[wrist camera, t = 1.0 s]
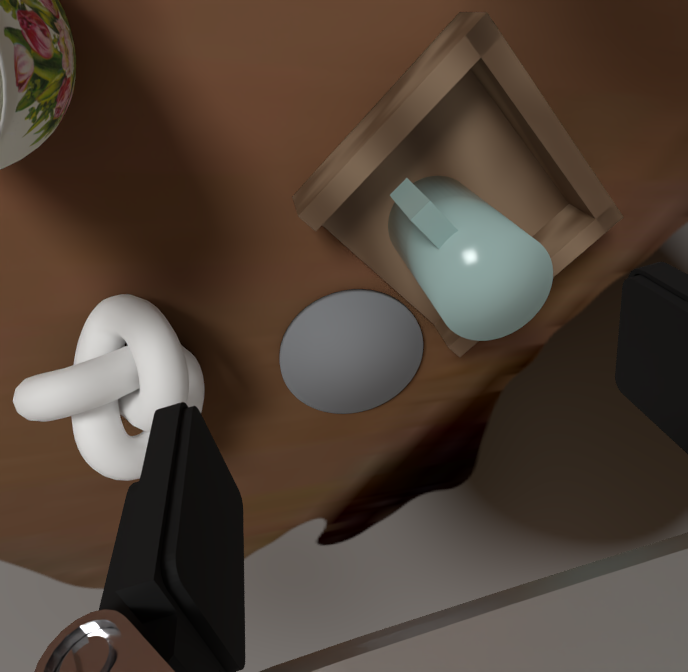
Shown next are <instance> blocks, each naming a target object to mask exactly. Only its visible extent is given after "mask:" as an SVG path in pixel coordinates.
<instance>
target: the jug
mask: <svg viewBox="0 0 688 672" xmlns="http://www.w3.org/2000/svg"><path fill="white" fill-rule="evenodd" d="M390 196H391V198H392V199H393V200H394V201H395V202H394V204H393V206H392V208H391V211H390V214H389V219H388V233H389V237H390V240H391V242H392V245H393V246H394V248H395V249H396V251H397V252H398V254H399V255H400V257H401V258H402V260H403V261H404V263H405V264H406V266H407V267H408V269H409V270H410V272H411V273H412V274H413V276H414V277H415V279H416V280H417V282H418V283H419V285H420V286H421V288H422V289H423V291H424V292H425V294H426V295H427V297H428V298H429V300H430V301H431V303H432V304H433V306H434V307H435V309H436V310H437V312H438V313H439V315H440V316H441V318H442V319H443V321H444V322H445V324H446V325H447V326H448V327H449V328H450V330H452V331H453V332H454V333H455V334H457V335H459V336H461V337H463V338H466V339H470V340H477V341H487V340H493V339H497V338H501V337H504V336H506V335H509V334H511V333H513V332H515V331H516V330H518V329H520V328H521V327H523V326H524V325H525V324H526V323H528V322H529V321H530V320H531V319H532V318H533V317H534V316H535V315H536V314H537V313H538V311H539V310H540V309H541V307H542V306H543V304H544V303H545V301H546V299H547V297H548V295H549V292H550V289H551V286H552V281H553V266H552V261H551V258H550V256H549V254H548V252H547V251H546V249H545V248H544V247H543V246H542V245H541V243H539V242H538V241H537V240H535V239H534V238H533V237H531V236H530V235H529V234H528V233H526V232H525V231H524V230H522V229H521V228H520V227H518V226H517V225H516V224H514V223H513V222H512V221H510V220H509V219H508V218H506V217H505V216H504V215H502V214H501V213H500V212H499V211H497V210H496V209H495V208H493V207H492V206H491V205H489V204H488V203H487V202H485V201H484V200H483V199H481V198H480V197H479V196H477V195H476V194H475V193H473V192H472V191H471V190H470V189H468V188H467V187H466V186H464V185H463V184H462V183H460V182H459V181H457V180H455V179H453V178H450V177H447V176H429V177H425V178H422V179H420V180H418V181H416V182H414V183H412V182H411V181H410V180H409V179H408V178H406V179H405V180H404V181H403V182H402V183H401V184H400V185H399V186H398V187H397V188H396V189H395V190H394V191H393V192H392V193H391V194H390Z"/></svg>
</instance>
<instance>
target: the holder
mask: <svg viewBox="0 0 688 672" xmlns="http://www.w3.org/2000/svg"><path fill="white" fill-rule="evenodd" d="M429 176H447V177H450V178H453V179H455V180H457V181H459V182H460V183H462V184H463V185H464V186H466V187H467V188H468V189H470V190H471V191H472V192H473V193H475V194H476V195H477V196H479V197H480V198H481V199H483V200H484V201H485V202H487V203H488V204H489V205H491V206H492V207H493V208H495V209H496V210H497V211H499V212H500V213H501V214H502V215H504V216H505V217H506V218H508V219H509V220H510V221H512V222H513V223H514V224H516V225H517V226H518V227H520V228H521V229H522V230H524V231H525V232H526V233H528V234H529V235H530V236H531V237H533V238H534V239H535V240H537V241H538V242H539V243H541V245H542V246H543V247H544V248H545V249H546V251H547V252H548V254H549V256H550V258H551V261H552V266H553V277H554V276H556V275H557V274H558V273H559V272H560V271H561V270H563V269H564V268H565V267H566V266H567V265H568V264H570V263H571V262H572V261H573V260H574V259H575V258H577V257H578V256H579V255H580V254H581V253H582V252H584V251H585V250H586V249H587V248H588V247H589V246H591V245H592V244H593V243H594V242H595V241H596V240H598V239H599V238H600V237H601V236H602V235H603V234H605V233H606V232H607V231H608V230H609V229H610V228H612V227H613V226H614V225H615V224H616V223H617V222H619V221H620V220H621V219H622V218H623V216H622V214H621V213H620V211H619V210H618V208H617V207H616V205H615V204H614V202H613V201H612V199H611V198H610V196H609V195H608V193H607V192H606V190H605V189H604V187H603V186H602V184H601V183H600V181H599V180H598V178H597V177H596V175H595V174H594V172H593V171H592V169H591V168H590V166H589V165H588V163H587V162H586V160H585V159H584V157H583V156H582V154H581V153H580V151H579V150H578V148H577V147H576V145H575V144H574V142H573V141H572V139H571V138H570V136H569V135H568V133H567V132H566V130H565V129H564V127H563V126H562V124H561V123H560V121H559V120H558V118H557V117H556V115H555V114H554V112H553V111H552V109H551V108H550V106H549V105H548V103H547V102H546V100H545V99H544V97H543V96H542V94H541V93H540V91H539V90H538V88H537V87H536V85H535V84H534V82H533V81H532V79H531V78H530V76H529V75H528V73H527V72H526V70H525V69H524V67H523V66H522V64H521V63H520V61H519V60H518V58H517V57H516V55H515V54H514V52H513V51H512V49H511V48H510V46H509V45H508V43H507V42H506V40H505V39H504V37H503V36H502V34H501V33H500V31H499V30H498V28H497V27H496V25H495V24H494V22H493V21H492V19H491V18H490V16H489V15H488V13H487V12H459V14H458V15H457V16H456V17H455V18H454V19H453V20H452V21H451V22H450V23H449V25H448V26H447V27H446V28H445V29H444V30H443V31H442V32H441V33H440V34H439V36H438V37H437V38H436V39H435V40H434V41H433V42H432V43H431V44H430V45H429V47H428V48H427V49H426V50H425V51H424V52H423V53H422V54H421V55H420V57H419V58H418V59H417V60H416V61H415V62H414V63H413V64H412V65H411V66H410V68H409V69H408V70H407V71H406V72H405V73H404V74H403V75H402V76H401V77H400V79H399V80H398V81H397V82H396V83H395V84H394V85H393V86H392V87H391V88H390V90H389V91H388V92H387V93H386V94H385V95H384V96H383V97H382V98H381V99H380V101H379V102H378V103H377V104H376V105H375V106H374V107H373V108H372V109H371V111H370V112H369V113H368V114H367V115H366V116H365V117H364V118H363V119H362V120H361V122H360V123H359V124H358V125H357V126H356V127H355V128H354V129H353V130H352V131H351V133H350V134H349V135H348V136H347V137H346V138H345V139H344V140H343V141H342V142H341V144H340V145H339V146H338V147H337V148H336V149H335V150H334V151H333V152H332V153H331V155H330V156H329V157H328V158H327V159H326V160H325V161H324V162H323V163H322V164H321V166H320V167H319V168H318V169H317V170H316V171H315V172H314V173H313V174H312V176H311V177H310V178H309V179H308V180H307V181H306V182H305V183H304V184H303V185H302V187H301V188H300V189H299V190H298V191H297V192H296V193H295V194H294V195H293V196H292V197H293V201H294V204H295V207H296V211H297V214H298V217H300V218H301V219H302V220H303V221H304V222H305V223H306V224H308V225H309V226H310V227H311V228H312V229H313V230H314V231H317V230H318V229H319V228H320V227H321V226H324V227H325V228H326V229H327V230H328V231H329V232H330V233H331V234H333V235H334V236H335V237H336V238H337V239H338V240H339V241H340V242H342V243H343V244H344V245H345V246H346V247H347V248H348V249H349V250H351V251H352V252H353V253H354V254H355V255H356V256H357V257H358V258H360V259H361V260H362V261H363V262H364V263H365V264H366V265H367V266H369V267H370V268H371V269H372V270H373V271H374V272H375V273H376V274H378V275H379V276H380V277H381V278H382V279H383V280H384V281H385V282H387V283H388V284H389V285H390V286H391V287H392V288H393V289H394V290H396V291H397V292H398V293H399V294H400V295H401V296H402V297H403V298H405V299H406V300H407V301H408V302H409V303H410V304H411V305H412V306H414V307H415V308H416V309H417V310H418V311H419V312H420V313H421V314H423V315H424V316H425V317H426V318H427V319H428V320H429V321H430V322H432V323H433V324H434V325H435V327H436V329H437V330H438V332H439V333H440V335H441V337H442V338H443V340H444V341H445V343H446V344H447V346H448V348H450V349H451V350H452V351H453V352H454V353H455V354H456V355H458V356H459V357H461V356H462V355H463V354H464V353H466V352H467V351H468V350H469V349H470V348H471V347H473V346H474V345H475V344H476V343H477V342H478V341H477V340H470V339H466V338H463V337H461V336H459V335H457V334H455V333H454V332H453V331H452V330H450V328H449V327H448V326H447V325H446V324H445V322H444V321H443V319H442V318H441V316H440V315H439V313H438V312H437V310H436V309H435V307H434V306H433V304H432V303H431V301H430V300H429V298H428V297H427V295H426V294H425V292H424V291H423V289H422V288H421V286H420V285H419V283H418V282H417V280H416V279H415V277H414V276H413V274H412V273H411V272H410V270H409V269H408V267H407V266H406V264H405V263H404V261H403V260H402V258H401V257H400V255H399V254H398V252H397V251H396V249H395V248H394V246H393V245H392V242H391V240H390V237H389V233H388V219H389V214H390V211H391V208H392V206H393V204H394V202H395V201H394V200H393V199H392V198H391V196H390V194H391V193H392V192H393V191H394V190H395V189H396V188H397V187H398V186H399V185H400V184H401V183H402V182H403V181H404V180H405V179H406V178H408V179H409V180H410V181H411V182H412V183H414V182H416V181H418V180H420V179H422V178H425V177H429Z"/></svg>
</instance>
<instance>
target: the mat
mask: <svg viewBox="0 0 688 672" xmlns="http://www.w3.org/2000/svg"><path fill="white" fill-rule="evenodd" d="M422 353H423V337H422V333H421V329H420V327H419V325H418V323H417V321H416V319H415V317H414V316H413V314H412V313H411V311H410V310H409V309H408V308H407V307H406V306H405V305H404V304H403V303H401V302H400V301H399V300H397V299H395V298H393V297H392V296H390V295H387V294H385V293H382V292H378V291H374V290H366V289H351V290H344V291H339V292H336V293H332V294H329V295H327V296H324V297H322V298H320V299H318V300H316V301H314V302H313V303H311V304H310V305H309V306H307V307H306V308H305V309H303V310H302V311H301V312H300V313H299V314H298V315H297V316H296V317H295V318H294V320H293V321H292V322H291V324H290V325H289V327H288V328H287V330H286V332H285V334H284V336H283V339H282V342H281V347H280V368H281V373H282V376H283V379H284V381H285V383H286V385H287V387H288V388H289V390H290V391H291V392H292V393H293V394H294V395H295V396H296V397H297V398H298V399H299V400H300V401H302V402H303V403H305V404H306V405H308V406H310V407H312V408H315V409H317V410H321V411H324V412H330V413H341V414H345V413H356V412H361V411H365V410H369V409H372V408H374V407H377V406H379V405H381V404H383V403H385V402H387V401H388V400H390V399H392V398H393V397H394V396H396V395H397V394H398V393H400V392H401V391H402V390H403V389H404V388H405V387H406V386H407V384H408V383H409V382H410V381H411V380H412V378H413V376H414V375H415V373H416V371H417V369H418V367H419V365H420V362H421V359H422Z"/></svg>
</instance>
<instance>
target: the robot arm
mask: <svg viewBox="0 0 688 672" xmlns="http://www.w3.org/2000/svg"><path fill="white" fill-rule="evenodd" d="M615 380H616V384H617V386H618V388H619V390H620V391H621V393H623V395H625V396H626V397H627V398H628V399H629V400H630V401H631V402H632V403H633V404H634V405H635V406H636V407H638V409H640V410H641V411H642V412H643V413H644V414H645V415H646V416H647V417H648V418H649V419H650V420H652V421H653V422H654V423H655V424H656V425H657V426H658V427H659V428H660V429H661V430H662V431H663V432H664V433H666V434H667V435H668V436H669V437H670V438H671V439H672V440H673V441H674V442H675V443H676V444H678V445H679V446H680V447H681V448H682V449H683V450H684V451H685V452H686V453H687V454H688V274H686V273H684V272H682V271H680V270H678V269H676V268H675V267H672V266H671V265H669V264H667V263H664V262H658V263H654V264H651V265H647V266H644V267H641V268H637V269H634V270H633V271H631V273H630V274H629V277H628V278H627V279H626V280H625V281H624V283H623V288H622V301H621V312H620V325H619V337H618V349H617V362H616V373H615ZM244 665H245V607H244V537H243V503H242V498H241V495H240V492H239V490H238V488H237V486H236V484H235V482H234V480H233V478H232V476H231V474H230V472H229V470H228V467H227V465H226V463H225V461H224V459H223V457H222V455H221V453H220V451H219V449H218V447H217V445H216V443H215V441H214V439H213V437H212V435H211V433H210V431H209V429H208V427H207V425H206V423H205V421H204V419H203V417H202V415H201V413H200V411H199V409H198V408H197V407H196V406H192V407H188V406H187V404H186V403H185V402H181V403H177V404H174V405H170V406H167V407H164V408H160V409H157V410H156V411H155V413H154V417H153V421H152V426H151V430H150V435H149V439H148V444H147V449H146V453H145V458H144V462H143V467H142V472H141V476H140V481H139V482H135V483H133V484H132V485H131V486H130V487H129V489H128V492H127V495H126V499H125V503H124V508H123V512H122V516H121V520H120V524H119V528H118V533H117V537H116V541H115V545H114V549H113V553H112V558H111V562H110V566H109V570H108V574H107V578H106V583H105V587H104V591H103V595H102V599H101V603H100V608H99V611H95V612H91V613H89V614H87V615H85V616H83V617H81V618H79V619H77V620H75V621H74V622H73V623H71V624H70V625H69V626H68V627H66V628H65V629H64V630H63V631H61V632H60V634H59V635H58V636H57V637H56V638H55V639H54V640H53V641H52V642H51V643H50V645H49V646H48V647H47V649H46V651H45V652H44V654H43V655H42V657H41V658H40V660H39V662H38V664H37V667H36V669H35V672H236V671H239V670H242V669H243V668H244ZM260 672H688V533H684V534H682V535H678V536H675V537H672V538H668V539H665V540H662V541H659V542H656V543H652V544H649V545H646V546H643V547H640V548H636V549H633V550H630V551H627V552H624V553H621V554H617V555H614V556H611V557H608V558H605V559H602V560H598V561H595V562H592V563H589V564H586V565H582V566H579V567H576V568H573V569H570V570H567V571H564V572H561V573H557V574H554V575H551V576H548V577H545V578H542V579H538V580H535V581H532V582H529V583H526V584H523V585H519V586H516V587H513V588H510V589H507V590H504V591H501V592H497V593H494V594H491V595H488V596H485V597H482V598H479V599H476V600H472V601H469V602H466V603H463V604H460V605H457V606H454V607H451V608H448V609H445V610H441V611H438V612H435V613H432V614H429V615H426V616H423V617H420V618H417V619H413V620H411V621H407V622H404V623H401V624H398V625H395V626H392V627H389V628H385V629H382V630H380V631H376V632H373V633H370V634H367V635H364V636H361V637H358V638H355V639H352V640H349V641H346V642H343V643H340V644H337V645H334V646H331V647H328V648H326V649H323V650H320V651H317V652H314V653H311V654H308V655H305V656H302V657H299V658H297V659H293V660H290V661H287V662H285V663H282V664H279V665H276V666H273V667H270V668H268V669H265V670H262V671H260Z"/></svg>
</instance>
